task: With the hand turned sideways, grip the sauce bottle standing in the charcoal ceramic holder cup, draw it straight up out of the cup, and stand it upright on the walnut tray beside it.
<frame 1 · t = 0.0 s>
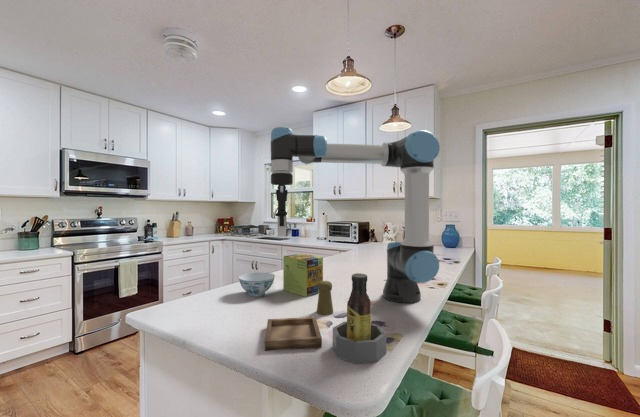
hand: (281, 234, 101), 28 cm above the counter, tool pointing down, fingers open, 13 cm apart
tray: (292, 336, 84), on the counter
holder cup: (358, 349, 76), on the counter
chinaware: (257, 294, 125), on the counter
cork: (324, 312, 103), on the counter
sauce bottle: (358, 350, 76), resting in holder cup
protein box: (303, 291, 130), on the counter
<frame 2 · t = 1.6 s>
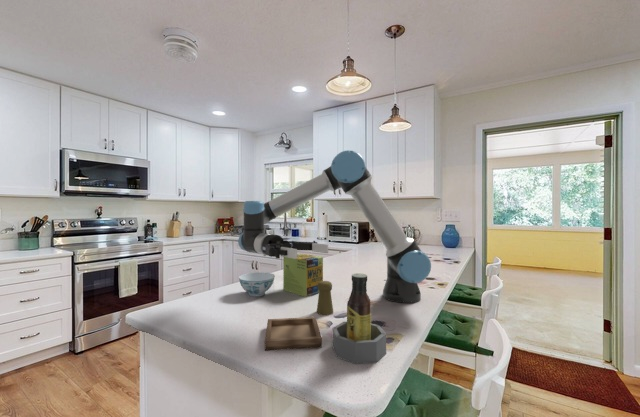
hand: (312, 251, 88), 24 cm above the counter, tool horizontal, fingers open, 13 cm apart
nothing on the counter moved.
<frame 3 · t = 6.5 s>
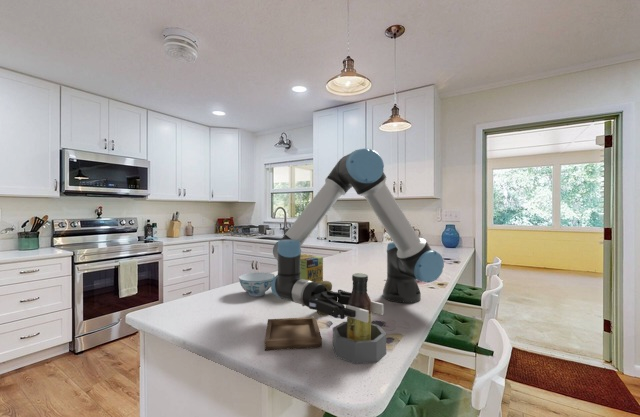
hand: (375, 312, 73), 11 cm above the counter, tool horizontal, fingers closed on sauce bottle, 6 cm apart
sauce bottle: (358, 350, 76), resting in holder cup, touching gripper
everything else where it was.
when the fingers open (13 cm above the counter, at t = 12.2 s): sauce bottle stays where it is, resting on tray.
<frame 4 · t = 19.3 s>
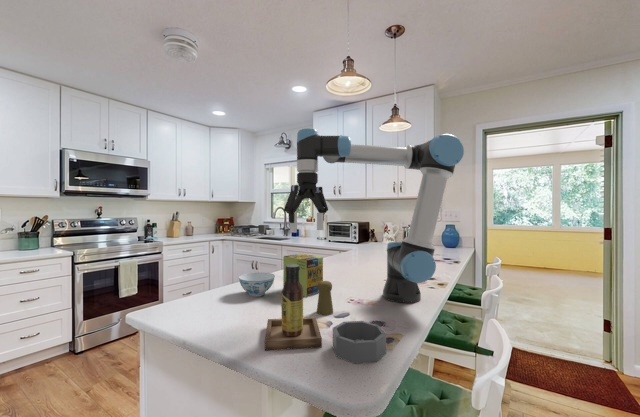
hand: (307, 231, 105), 29 cm above the counter, tool pointing down, fingers open, 13 cm apart
sauce bottle: (292, 333, 84), point 1 cm above the counter, touching tray
everything else where it was.
at the end: sauce bottle inside the target area on the tray (0.1 cm from its centre), point 0.8 cm above the tray's base; sauce bottle tilted 0°; the gripper is holding nothing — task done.
